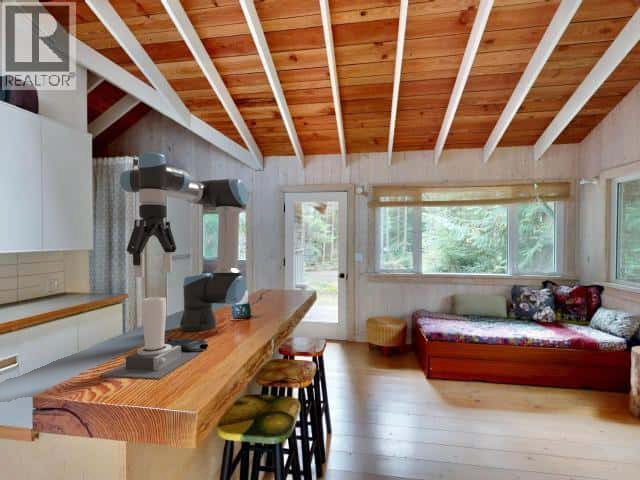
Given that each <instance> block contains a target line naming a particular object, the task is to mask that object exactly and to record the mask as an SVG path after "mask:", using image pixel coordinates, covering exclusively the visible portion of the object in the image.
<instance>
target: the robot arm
mask: <svg viewBox="0 0 640 480" xmlns="http://www.w3.org/2000/svg"><path fill="white" fill-rule="evenodd" d="M137 165H138V166H137V169H133V168H132V169H127V170H124V171H122V172H121V173H120V174H119V175H120V176H119V184H120V188H122V189H123V190H124V191H125V192H126V193H134V194H135V193H138V199H139V200H138V203H140V204H139V205H138V213H139V214H138V215H139V218H142V219H134V221H133V229H132V232H131V235H130V237H129V241H128V245H127V248H126V252H128V254H129V255H132V266H133V278H144V277H145V254H144V253H143V251H144V249H145V248H146V246H147V243H148V242H149V239H150V238H151V237H153V236H154V237H156V239H157V240H158V243H159V244H160V246H161V247H162V250H163V252H162V272H163V274H164V273H165V274H169V273H171V274H173V253H175V252H176V250H177V246H176V242H175V239H174V235H173V233H172V232H173V231H172V230H171V229H172V228H171V221H164V219H165V218H166V217H167V206H166V204H167V197H169V198H176V199H181V200H185V201H187V202H188V203H189V204H190V203H191V204H196V205H200V206H205V207H215V208H214V209H215V211H217V213H218V224H217V226H218V229H217V230H218V231H217V233H218V235H217V261H216V262H217V266H216V269H215V270H214V271H213V273H211V272H208V273H199V274H192V275H187V276H185V277H184V278H183V286H182V287H183V313H182V316H181V318H180V322H179V330H180V329H181V331H182V330H188V331H187V332H200V331H201V332H202V331H208V330H211V329H214V328H216V327H217V323H218V322H217V318H216V316H215V313H214V310H213V304H215V305H216V304H217V305H218V304H220V305H234V304H235V305H236V304H239V303H240V302H241V301H242V300H243V299H244V298H245V294H246V292H247V291H246V290H247V280H246V278H245V277H244V276H242V271H241V270H240V269H239V268H238V267H239V233H240V232H239V231H240V229H239V228H240V214H241V213H242V212H243V207H244V206H246V205H247V204H248V201H249V194H248V190H247V189H248V188H247V187H246V185H245V182H244V181H243V180H241V179H240V178H225V179H209V180H193V179H192V180H191V176H190V174H189V173H188V172H187V171H186V170H184V169H182V168H179V167H175V166H172V165H169V164H167V161H166V157H165V154H162V153H159V152H153V151H152V152H151V151H148V152H142V153H140V154H139V155H138V162H137Z"/></svg>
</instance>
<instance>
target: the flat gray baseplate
mask: <svg viewBox="0 0 640 480" xmlns="http://www.w3.org/2000/svg"><path fill="white" fill-rule="evenodd" d="M199 354H200V355H201V354H202V352H182V351H181V346H171V345H169V344H164V347H163V348H161V349H158V350H146V349H145V346H143V347H142V346H141V347H139V348H138V349H137V350H136V352H133V353H131V354H129V355H126V356H125V363H122V364H120V365H118V366H115V367H114V368H112V369H109V370H107V371H105V372H103V373H101V374H100V375H99V376H100V377H108V378H124V377H132V378H131V379H144V378H148V379H147V380H161V379H162V378H164V377H165V376H167V375H169V374H170V373H172V372H174V371H175V370H177V369H179V368H180V367H182V366H183V365H185V364H187V363H188V362H190V361H192V360H193V359H195V358H196V357H198V356H199ZM194 357H195V358H194ZM191 359H192V360H191ZM189 360H190V361H189ZM186 362H187V363H186Z"/></svg>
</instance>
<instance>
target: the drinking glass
mask: <svg viewBox="0 0 640 480" xmlns="http://www.w3.org/2000/svg"><path fill="white" fill-rule="evenodd" d="M141 318H142V328H143V336H144V337H143V338H144V347H145V349H146V350H158V349H161V348H163V347H164V341H165V335H166V334H165V333H166V322H167V321H166V320H167V297H164V296H152V297H145V298H142V299H141Z"/></svg>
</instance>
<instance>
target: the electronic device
mask: <svg viewBox="0 0 640 480" xmlns="http://www.w3.org/2000/svg"><path fill="white" fill-rule="evenodd" d="M164 344H169V345H171V346H181V352H182V351H183V352H198V353H200V352H204V351H205V350H206V349H207V348H208V347H209V343H208V341H206V340H203V339H196V338H195V339H193V338H178V337H173V338H171V337H169V338H167V339H166V340H165V339H164ZM202 346H205V347H206V348H205V347H204V348H201V347H202ZM199 351H200V352H199Z"/></svg>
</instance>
